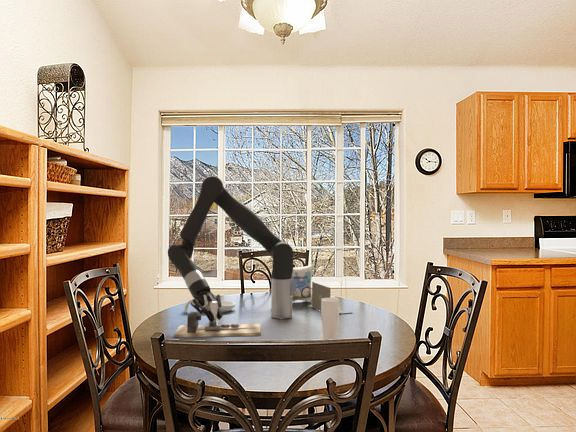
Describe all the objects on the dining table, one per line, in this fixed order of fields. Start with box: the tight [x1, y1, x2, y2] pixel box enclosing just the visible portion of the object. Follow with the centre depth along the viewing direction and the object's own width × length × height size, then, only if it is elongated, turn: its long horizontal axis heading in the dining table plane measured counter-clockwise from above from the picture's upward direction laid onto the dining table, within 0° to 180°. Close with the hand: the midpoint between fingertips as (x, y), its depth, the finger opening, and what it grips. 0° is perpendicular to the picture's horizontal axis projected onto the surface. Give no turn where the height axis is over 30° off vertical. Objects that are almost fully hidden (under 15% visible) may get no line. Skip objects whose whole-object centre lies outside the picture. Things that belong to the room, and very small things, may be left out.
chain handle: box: [204, 301, 240, 330], centre depth 153 cm, size 13×5×10 cm, turn 95°
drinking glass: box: [320, 297, 341, 341], centre depth 143 cm, size 7×7×15 cm
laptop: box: [311, 281, 342, 313], centre depth 188 cm, size 18×12×13 cm
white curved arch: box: [183, 297, 236, 314], centre depth 185 cm, size 24×12×7 cm, turn 103°
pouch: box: [292, 263, 314, 302], centre depth 203 cm, size 8×19×20 cm, turn 114°
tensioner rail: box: [173, 310, 262, 338], centre depth 153 cm, size 32×12×7 cm, turn 95°
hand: (216, 319), depth 151 cm, fingers closed on chain handle, 3 cm apart
